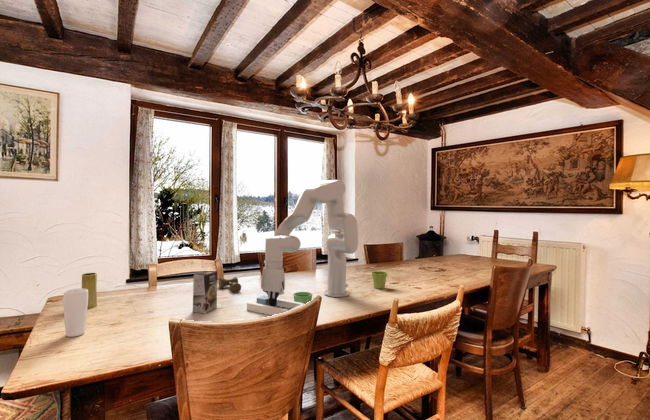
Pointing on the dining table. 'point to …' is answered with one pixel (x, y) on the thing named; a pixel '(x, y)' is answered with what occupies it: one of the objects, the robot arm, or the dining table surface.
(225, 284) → the kendama
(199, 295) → the coffee box
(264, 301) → the block
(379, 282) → the plant pot
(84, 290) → the drinking glass
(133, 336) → the dining table surface
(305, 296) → the ramekin
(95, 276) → the vase
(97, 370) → the dining table surface
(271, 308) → the channel
